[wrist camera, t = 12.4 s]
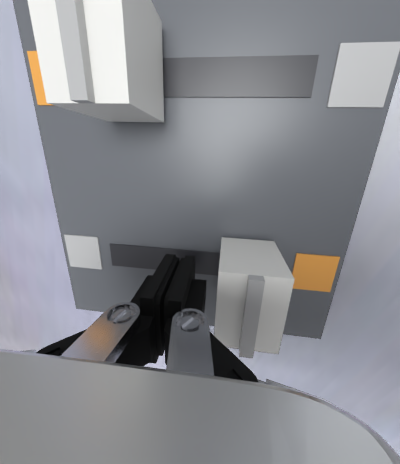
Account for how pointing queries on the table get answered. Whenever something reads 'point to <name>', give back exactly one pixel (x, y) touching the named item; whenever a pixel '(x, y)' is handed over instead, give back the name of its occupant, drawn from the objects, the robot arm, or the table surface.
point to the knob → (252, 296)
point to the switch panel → (228, 148)
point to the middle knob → (101, 57)
